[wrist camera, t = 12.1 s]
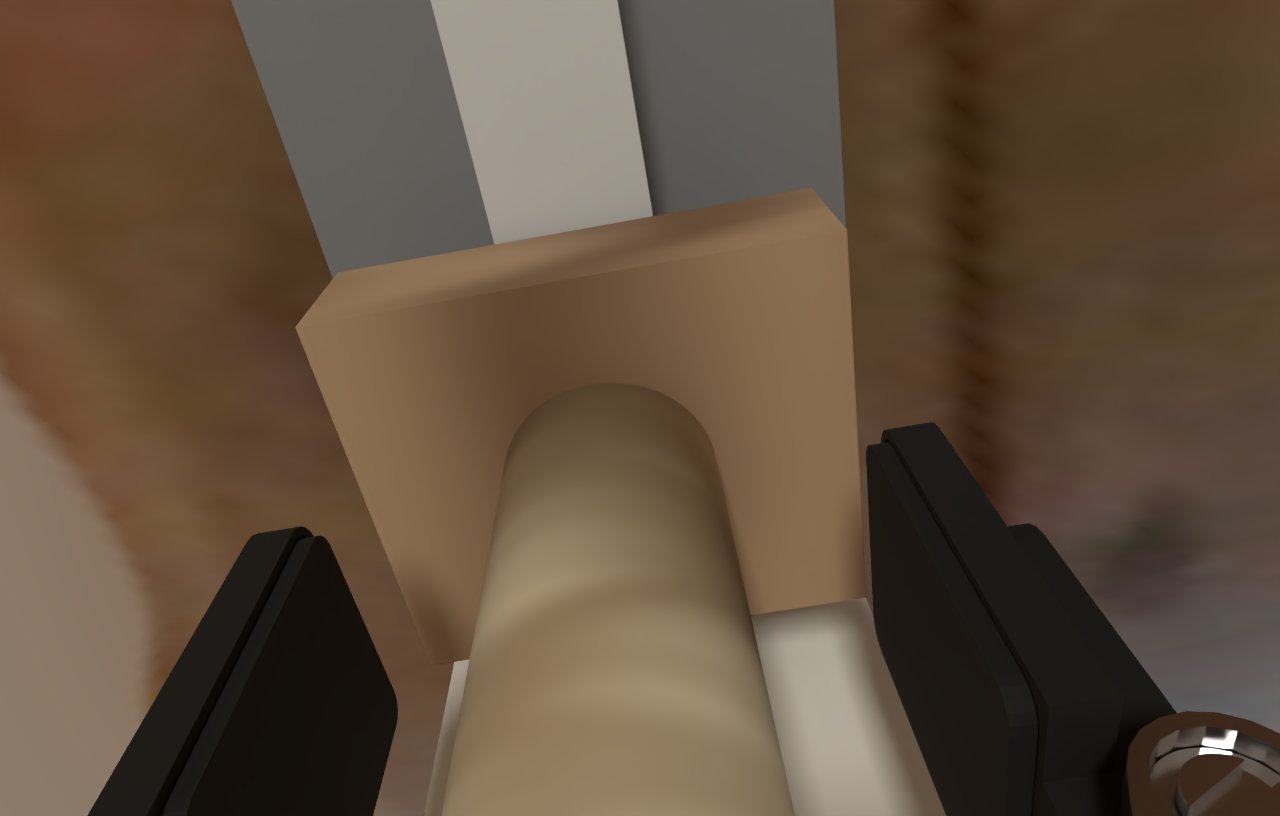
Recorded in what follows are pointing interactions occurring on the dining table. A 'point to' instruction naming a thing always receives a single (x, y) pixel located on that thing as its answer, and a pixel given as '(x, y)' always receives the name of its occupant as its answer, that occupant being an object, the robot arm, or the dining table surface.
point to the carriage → (608, 490)
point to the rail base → (588, 197)
